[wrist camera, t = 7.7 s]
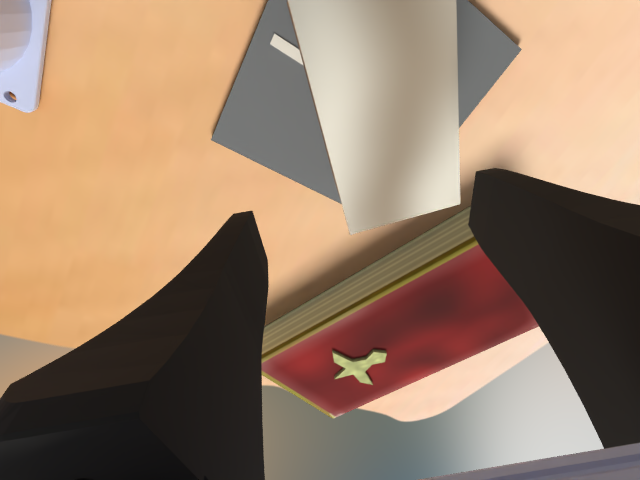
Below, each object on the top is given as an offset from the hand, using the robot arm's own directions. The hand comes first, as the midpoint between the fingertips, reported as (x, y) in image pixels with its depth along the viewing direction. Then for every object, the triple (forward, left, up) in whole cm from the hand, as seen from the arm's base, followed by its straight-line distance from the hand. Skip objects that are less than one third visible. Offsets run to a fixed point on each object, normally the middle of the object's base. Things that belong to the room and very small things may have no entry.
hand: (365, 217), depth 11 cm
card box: (0, +3, -9) cm, 10 cm away
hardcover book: (+13, -11, -11) cm, 20 cm away
